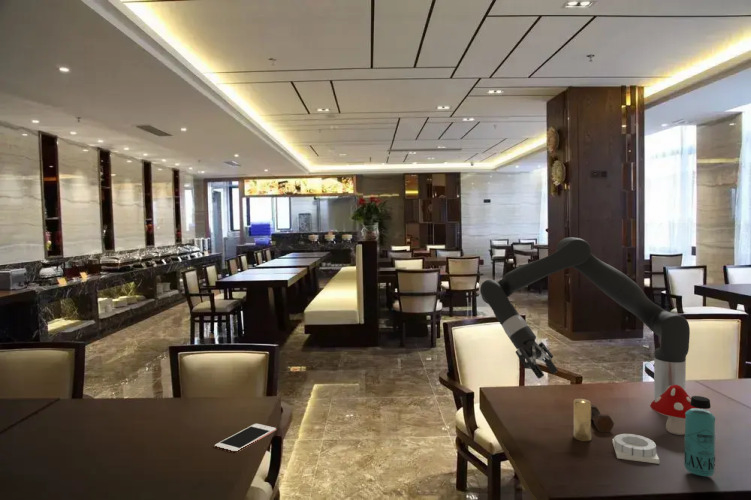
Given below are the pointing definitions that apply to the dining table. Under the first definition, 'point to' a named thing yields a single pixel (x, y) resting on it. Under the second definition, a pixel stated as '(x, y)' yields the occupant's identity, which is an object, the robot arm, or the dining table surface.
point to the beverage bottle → (699, 438)
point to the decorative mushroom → (673, 408)
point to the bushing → (582, 419)
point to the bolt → (601, 420)
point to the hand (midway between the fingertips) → (548, 374)
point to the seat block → (635, 448)
